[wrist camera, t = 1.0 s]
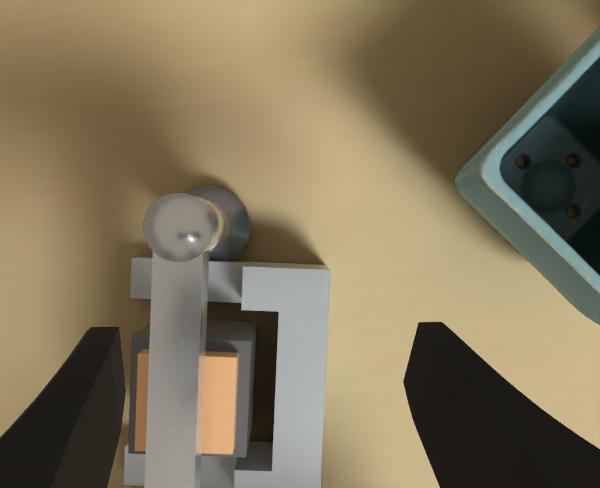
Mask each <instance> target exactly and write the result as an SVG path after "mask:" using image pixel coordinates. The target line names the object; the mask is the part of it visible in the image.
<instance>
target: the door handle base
mask: <svg viewBox="0 0 600 488" xmlns="http://www.w3.org/2000/svg"><path fill="white" fill-rule="evenodd" d="M185 194H189V195H193V196H196V197H199V198H202V199H206V200H209V201H212V202H215V203H218V204H219V205H221V206H222V207H224V208H225V209H226V211H227V212H228V213H229V215H230V217H231V221H232V233H231V236H230V239H229V240H228V242H227V243H226V244H225V245H224V246H223V247H222V248H220V249H219V250H217V251H214V252H211V253H209V261H224V262H230V261H232V260H234V259H235V258H236V257H238V256H239V255H240V254H241V253H242V251H243V250H244V248H245V247H246V245H247V243H248V240H249V237H250V233H251V221H250V216H249V213H248V211H247V208H246V207H245V205H244V204H243V202H242V201H241V200H240V199H239V198H238V197H237V196H236V195H234V194H233V193H231V192H230V191H228V190H226V189H223V188H221V187H217V186H200V187H196V188H194V189H191V190H189V191H188V192H186V193H185Z"/></svg>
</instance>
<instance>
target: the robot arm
mask: <svg viewBox="0 0 600 488" xmlns="http://www.w3.org/2000/svg"><path fill="white" fill-rule="evenodd" d="M403 383H404V387H405V391H406V395H407V399H408V403H409V407H410V411H411V414H412V418H413V421H414V424H415V426H416V429H417V431H418V434H419V436H420V439H421V441H422V444H423V446H424V449H425V451H426V454H427V456H428V459H429V461H430V464H431V466H432V469H433V471H434V474H435V476H436V479H437V481H438V483H439V486H440V488H600V449H599V448H597V447H596V446H594V445H592V444H591V443H589V442H588V441H586V440H585V439H583V438H582V437H580V436H579V435H577V434H576V433H574V432H573V431H572V430H570V429H569V428H567V427H566V426H564V425H563V424H561V423H560V422H559V421H557V420H556V419H554V418H553V417H552V416H550V415H549V414H548V413H546V412H545V411H544V410H542V409H541V408H540V407H538V406H537V405H536V404H535V403H533V402H532V401H531V400H530V399H528V398H527V397H526V396H525V395H523V394H522V393H521V392H520V391H518V390H517V389H516V388H515V387H514V386H513V385H511V384H510V383H509V382H508V381H507V380H505V379H504V378H503V377H502V376H501V375H500V374H499V373H497V372H496V371H495V370H494V369H493V368H492V367H491V366H490V365H489V364H487V363H486V362H485V361H484V360H483V359H482V358H481V357H480V356H479V355H478V354H476V353H475V352H474V351H473V350H472V349H471V348H470V347H469V346H468V345H467V344H466V343H465V342H463V341H462V340H461V339H460V338H459V337H458V336H457V335H456V334H455V333H454V332H453V331H452V330H450V329H449V328H448V327H447V326H446V325H445V324H444V323H442V322H419V323H418V327H417V331H416V335H415V338H414V342H413V346H412V350H411V354H410V358H409V362H408V366H407V370H406V373H405V377H404V381H403ZM125 393H126V389H125V380H124V370H123V361H122V351H121V342H120V333H119V327H91V328H90V329H89V330H88V331H86V333H85V334H84V336H83V337H82V339H81V340H80V342H79V343H78V345H77V346H76V347H75V349H74V350H73V352H72V353H71V354H70V356H69V357H68V358H67V360H66V361H65V362H64V364H63V365H62V366H61V368H60V369H59V370H58V372H57V373H56V374H55V375H54V377H53V378H52V379H51V380H50V382H49V383H48V384H47V385H46V387H45V388H44V389H43V390H42V392H41V393H40V394H39V395H38V396H37V398H36V399H35V400H34V401H33V402H32V403H31V405H30V406H29V407H28V408H27V409H26V410H25V411H24V412H23V413H22V415H21V416H20V417H19V418H18V419H17V420H16V421H15V422H14V423H13V425H12V426H11V427H10V428H9V429H8V430H7V431H6V432H5V433H4V434H3V435H2V436H1V437H0V488H107V485H108V481H109V477H110V473H111V469H112V465H113V461H114V457H115V453H116V449H117V445H118V441H119V437H120V432H121V425H122V417H123V409H124V401H125Z"/></svg>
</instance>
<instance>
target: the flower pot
mask: <svg viewBox="0 0 600 488" xmlns="http://www.w3.org/2000/svg"><path fill="white" fill-rule="evenodd" d="M570 155H573V156H575V157H576V158H577V164H576V165H575V166H573V167H570V166H568V165H567V158H568V157H569V156H570ZM520 156H524V157H526V159H527V164H526V166H524V167H519V166H518V165H517V163H516V162H517V159H518V157H520ZM454 183H455V188H456V190H457V192H458V193H459V194H460V195H461V196H462V197H463V198H464V199H465V200H466V201H467V202H468V203H469V204H470V205H471V206H472V207H473V208H474V209H475V210H476V211H477V212H478V213H479V214H480V215H481V216H482V217H483V218H485V219H486V220H487V221H488V222H489V223H490V224H491V225H492V226H493V227H494V228H495V229H496V230H497V231H498V232H499V233H500V234H501V235H502V236H503V237H504V238H505V239H506V240H507V241H508V242H509V243H510V244H511V245H512V246H513V247H514V248H515V249H516V250H517V251H518V252H520V253H521V254H522V255H523V256H524V257H525V258H526V259H527V260H528V261H529V262H530V263H531V264H532V265H533V266H534V267H535V268H536V269H537V270H538V271H539V272H540V273H541V274H542V275H543V276H544V277H545V278H546V279H547V280H548V281H549V282H550V283H551V284H552V285H553V286H554V287H555V288H556V289H557V290H558V291H559V292H560V293H561V294H562V295H563V296H564V297H565V298H566V299H567V300H568V301H569V302H570V303H571V304H572V305H573V306H574V307H575V308H576V309H577V310H579V311H580V312H581V313H582V314H584V315H585V316H586V317H588V318H589V319H591V320H592V321H594V322H596V323H597V324H599V325H600V27H599V28H598V29H597V30H596V31H595V32H594V33H593V34H592V35H591V36H590V37H589V38H587V39H586V40H585V41H584V42H583V43H582V44H581V45H580V46H579V48H578V49H577V50H576V51H575V52H574V53H573V54H572V55H571V56H570V57H569V58H568V59H567V60H566V61H565V62H564V63H563V64H562V65H561V66H560V67H559V68H558V70H557V71H556V72H555V73H554V74H553V75H552V76H551V77H550V78H549V79H548V80H547V81H546V82H545V83H544V84H543V85H542V86H541V87H540V88H539V89H538V90H537V91H536V92H535V94H534V95H533V96H532V97H531V98H530V99H529V100H528V101H527V102H526V103H525V104H524V105H523V106H522V107H521V108H520V109H519V110H518V111H517V112H516V113H515V114H514V115H513V116H512V117H511V118H510V119H509V120H508V122H507V123H506V124H505V125H504V126H503V127H502V128H501V129H500V130H499V131H498V132H497V133H496V134H495V135H494V136H493V137H492V138H491V139H490V140H489V141H488V142H487V143H486V144H485V145H484V146H483V147H482V148H481V149H480V150H479V151H478V152H477V153H476V154H475V155H474V156H473V157H472V158H471V159H470V160H469V161H468V162H467V163H466V164H465V165H464V166H463V167H462V168H461V170H460V171H459V172H458V174H457V175H456V177H455V182H454ZM571 205H573V206H575V207H576V208H577V210H578V213H577V215H576V216H574V217H570V216H568V214H567V209H568V207H569V206H571Z"/></svg>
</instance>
